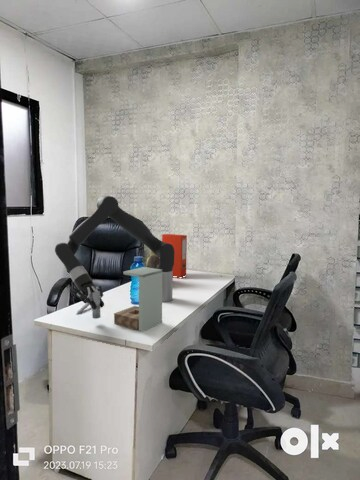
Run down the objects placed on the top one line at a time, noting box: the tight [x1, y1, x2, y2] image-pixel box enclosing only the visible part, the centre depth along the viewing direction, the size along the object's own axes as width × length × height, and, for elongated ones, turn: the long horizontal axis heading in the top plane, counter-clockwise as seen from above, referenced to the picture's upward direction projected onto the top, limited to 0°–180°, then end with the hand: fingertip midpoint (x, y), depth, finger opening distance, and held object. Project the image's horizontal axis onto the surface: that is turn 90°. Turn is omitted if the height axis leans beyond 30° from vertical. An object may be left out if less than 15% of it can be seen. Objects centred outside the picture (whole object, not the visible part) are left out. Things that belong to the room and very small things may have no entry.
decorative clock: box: [145, 249, 160, 269], centre depth 235 cm, size 28×13×30 cm, turn 159°
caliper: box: [75, 303, 90, 316], centre depth 179 cm, size 20×1×6 cm, turn 165°
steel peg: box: [91, 291, 102, 320], centre depth 155 cm, size 4×4×12 cm
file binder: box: [161, 233, 188, 277], centre depth 258 cm, size 8×17×32 cm, turn 57°
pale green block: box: [122, 266, 163, 333], centre depth 155 cm, size 11×14×25 cm
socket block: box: [113, 305, 139, 331], centre depth 158 cm, size 14×14×5 cm
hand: (99, 307), depth 154 cm, fingers closed on steel peg, 3 cm apart
